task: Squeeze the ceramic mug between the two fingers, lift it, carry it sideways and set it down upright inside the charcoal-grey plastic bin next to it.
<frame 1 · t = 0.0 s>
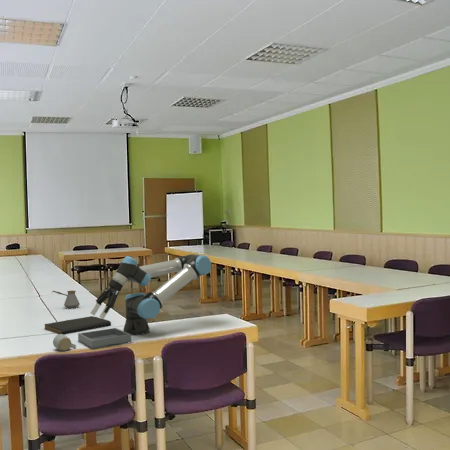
hand: (96, 316, 281), 15 cm above the table, tool tilted 35°, fingers open, 13 cm apart
ceramic mug: (65, 349, 272), on the table
bin: (104, 342, 286), on the table
coffee pot: (65, 309, 396), on the table
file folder: (78, 328, 326), on the table
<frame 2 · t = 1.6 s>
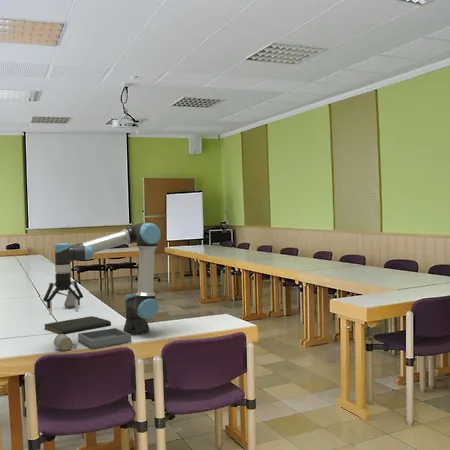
hand: (63, 313, 272), 19 cm above the table, tool pointing down, fingers open, 13 cm apart
nothing on the table moved.
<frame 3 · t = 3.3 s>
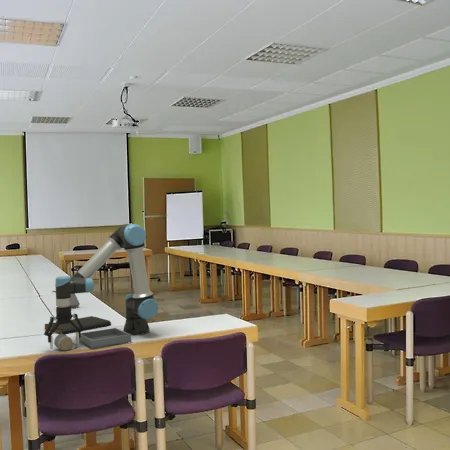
hand: (64, 346, 272), 1 cm above the table, tool pointing down, fingers open, 13 cm apart
nothing on the table moved.
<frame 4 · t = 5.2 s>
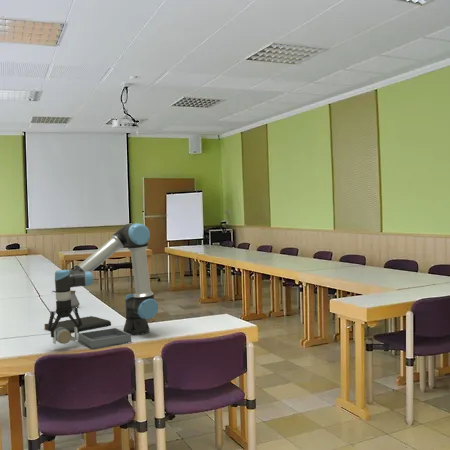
hand: (65, 341, 273), 4 cm above the table, tool pointing down, fingers closed on ceramic mug, 11 cm apart
ceramic mug: (65, 342, 273), point 3 cm above the table, touching gripper
everything else where it was.
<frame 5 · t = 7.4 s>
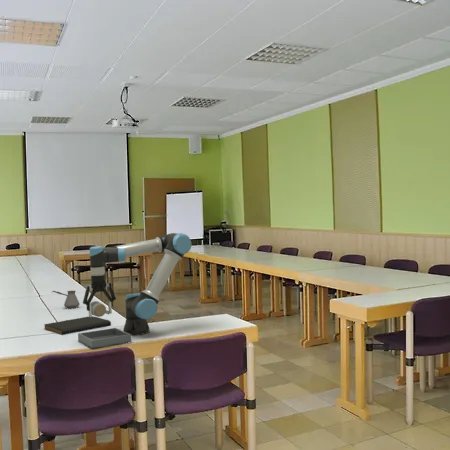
hand: (100, 314, 284), 15 cm above the table, tool pointing down, fingers closed on ceramic mug, 11 cm apart
ceramic mug: (100, 315, 284), point 15 cm above the table, touching gripper
everything else where it was.
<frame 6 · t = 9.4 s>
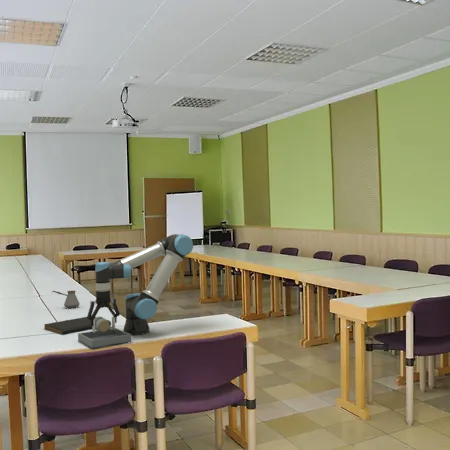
hand: (103, 330, 285), 6 cm above the table, tool pointing down, fingers closed on ceramic mug, 11 cm apart
ceramic mug: (103, 331, 285), point 6 cm above the table, touching gripper
everything else where it was.
when the fingers open (3 cm above the table, at t = 11.0 s): ceramic mug drops 2 cm, resting on bin.
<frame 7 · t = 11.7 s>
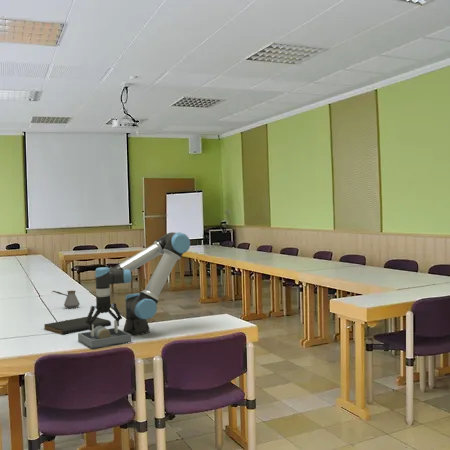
hand: (104, 334, 285), 4 cm above the table, tool pointing down, fingers open, 13 cm apart
ceramic mug: (104, 340, 286), point 1 cm above the table, touching bin
everything else where it was.
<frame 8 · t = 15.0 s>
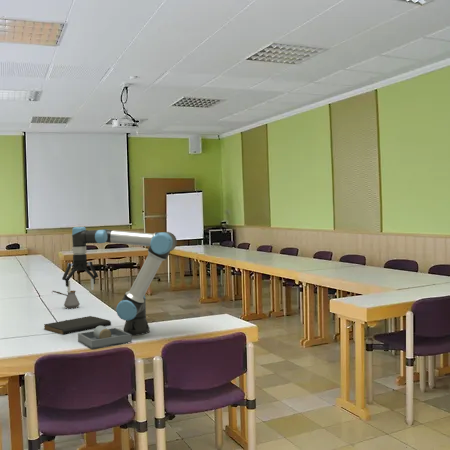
hand: (80, 291, 297), 27 cm above the table, tool pointing down, fingers open, 13 cm apart
nothing on the table moved.
at the end: ceramic mug inside the target area on the bin (0.4 cm from its centre), point 0.8 cm above the bin's base; ceramic mug tilted 1°; the gripper is holding nothing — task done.
